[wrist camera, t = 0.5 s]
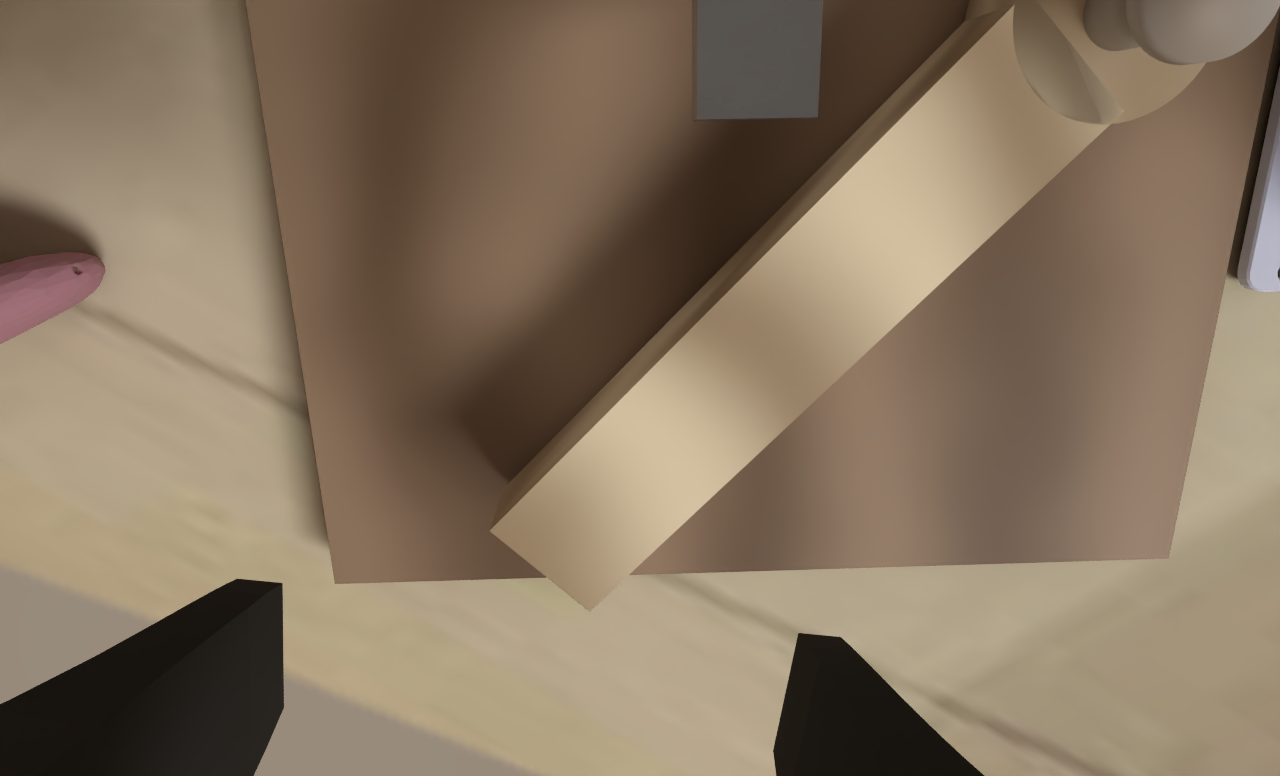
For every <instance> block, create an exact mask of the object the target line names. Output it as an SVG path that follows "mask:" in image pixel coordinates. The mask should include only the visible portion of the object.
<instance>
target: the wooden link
mask: <svg viewBox="0 0 1280 776" xmlns="http://www.w3.org/2000/svg"><path fill="white" fill-rule="evenodd" d="M1279 6H1280V0H970V1H969V5H968V9H967V12H966V17H965V21H964V22H963V23H962V25H961V26H960V27H959V28H958V29H957V30H956V31H955V32H954V33H953V34H952V35H951V36H950V37H949V38H948V39H947V40H946V41H945V42H944V43H943V44H942V45H941V46H940V47H939V48H938V49H937V50H936V51H935V52H934V53H933V54H932V55H931V56H930V57H929V58H928V59H927V60H926V61H925V62H924V63H923V64H922V65H921V66H920V67H919V68H918V69H917V70H916V71H915V72H914V73H913V74H912V75H911V76H910V77H909V78H908V79H907V80H906V81H905V82H904V83H903V84H902V85H901V86H900V87H899V88H898V89H897V90H896V91H895V92H894V93H893V94H892V95H891V96H890V97H889V98H888V100H887V101H886V102H885V103H884V104H883V105H882V106H881V107H880V108H879V109H878V110H877V111H876V112H875V113H874V114H873V115H872V116H871V117H870V118H869V119H868V120H867V121H866V122H865V123H864V124H863V125H862V126H861V127H860V128H859V129H858V130H857V131H856V132H855V133H854V134H853V135H852V136H851V137H850V138H849V139H848V140H847V141H846V142H845V143H844V144H843V145H842V146H841V147H840V148H839V149H838V150H837V151H836V152H835V153H834V154H833V155H832V156H831V157H830V158H829V159H828V160H827V161H826V162H825V163H824V164H823V165H822V166H821V167H820V168H819V169H818V170H817V171H816V172H815V173H814V174H813V176H812V177H811V178H810V179H809V180H808V181H807V182H806V183H805V184H804V185H803V186H802V187H801V188H800V189H799V190H798V191H797V192H796V193H795V194H794V195H793V196H792V197H791V198H790V199H789V200H788V201H787V202H786V203H785V204H784V205H783V206H782V207H781V208H780V209H779V210H778V211H777V212H776V213H775V214H774V215H773V216H772V217H771V218H770V219H769V220H768V221H767V222H766V223H765V224H764V225H763V226H762V227H761V228H760V229H759V230H758V231H757V232H756V233H755V234H754V235H753V236H752V237H751V238H750V239H749V240H748V241H747V242H746V243H745V244H744V245H743V246H742V247H741V248H740V249H739V251H738V252H737V253H736V254H735V255H734V256H733V257H732V258H731V259H730V260H729V261H728V262H727V263H726V264H725V265H724V266H723V267H722V268H721V269H720V270H719V271H718V272H717V273H716V274H715V275H714V276H713V277H712V278H711V279H710V280H709V281H708V282H707V283H706V284H705V285H704V286H703V287H702V288H701V289H700V290H699V291H698V292H697V293H696V294H695V295H694V296H693V297H692V298H691V299H690V300H689V301H688V302H687V303H686V304H685V305H684V306H683V307H682V308H681V309H680V310H679V311H678V312H677V313H676V314H675V315H674V316H673V317H672V318H671V319H670V320H669V321H668V322H667V323H666V324H665V326H664V327H663V328H662V329H661V330H660V331H659V332H658V333H657V334H656V335H655V336H654V337H653V338H652V339H651V340H650V341H649V342H648V343H647V344H646V345H645V346H644V347H643V348H642V349H641V350H640V351H639V352H638V353H637V354H636V355H635V356H634V357H633V358H632V359H631V360H630V361H629V362H628V363H627V364H626V365H625V366H624V367H623V368H622V369H621V370H620V371H619V372H618V373H617V374H616V375H615V376H614V377H613V378H612V379H611V380H610V381H609V382H608V383H607V384H606V385H605V386H604V387H603V388H602V389H601V390H600V391H599V392H598V393H597V394H596V395H595V396H594V397H593V398H592V399H591V400H590V402H589V403H588V404H587V405H586V406H585V407H584V408H583V409H582V410H581V411H580V412H579V413H578V414H577V415H576V416H575V417H574V418H573V419H572V420H571V421H570V422H569V423H568V424H567V425H566V426H565V427H564V428H563V429H562V430H561V431H560V432H559V433H558V434H557V435H556V436H555V437H554V438H553V439H552V440H551V441H550V442H549V443H548V444H547V445H546V446H545V447H544V448H543V449H542V450H541V451H540V452H539V453H538V454H537V455H536V456H535V457H534V458H533V459H532V460H531V461H530V462H529V463H528V464H527V465H526V466H525V467H524V468H523V469H522V470H521V471H520V472H519V473H518V474H517V475H516V477H515V478H514V479H513V480H512V481H511V482H510V483H509V484H508V485H507V486H506V487H505V488H504V489H503V491H502V494H501V497H500V500H499V504H498V507H497V510H496V513H495V516H494V519H493V522H492V525H491V528H490V532H491V533H493V534H494V535H495V536H496V537H498V538H499V539H500V540H501V541H503V542H504V543H505V544H506V545H507V546H509V547H510V548H511V549H512V550H514V551H515V552H516V553H517V554H519V555H520V556H521V557H522V558H524V559H525V560H526V561H527V562H529V563H530V564H531V565H532V566H534V567H535V568H536V569H537V570H539V571H540V572H541V573H542V574H543V575H545V576H546V577H547V578H548V579H550V580H551V581H552V582H553V583H555V584H556V585H557V586H558V587H560V588H561V589H562V590H563V591H565V592H566V593H567V594H568V595H570V596H571V597H572V598H573V599H575V600H576V601H577V602H578V603H579V604H581V605H582V606H583V607H584V608H586V609H587V610H588V611H589V612H590V611H591V610H592V609H593V608H594V607H595V606H596V605H597V604H598V603H599V602H601V601H602V600H603V599H604V598H605V597H606V596H607V595H608V594H609V593H610V592H611V591H612V590H613V589H614V588H615V587H617V586H618V585H619V584H620V583H621V582H622V581H623V580H624V579H625V578H626V577H627V576H628V575H629V574H630V573H632V572H633V571H634V570H635V569H636V568H637V567H638V566H639V565H640V564H641V563H642V562H643V561H644V560H645V559H646V558H648V557H649V556H650V555H651V554H652V553H653V552H654V551H655V550H656V549H657V548H658V547H659V546H660V545H661V544H663V543H664V542H665V541H666V540H667V539H668V538H669V537H670V536H671V535H672V534H673V533H674V532H675V531H676V530H677V529H679V528H680V527H681V526H682V525H683V524H684V523H685V522H686V521H687V520H688V519H689V518H690V517H691V516H692V515H694V514H695V513H696V512H697V511H698V510H699V509H700V508H701V507H702V506H703V505H704V504H705V503H706V502H707V501H708V500H710V499H711V498H712V497H713V496H714V495H715V494H716V493H717V492H718V491H719V490H720V489H721V488H722V487H723V486H725V485H726V484H727V483H728V482H729V481H730V480H731V479H732V478H733V477H734V476H735V475H736V474H737V473H738V472H739V471H741V470H742V469H743V468H744V467H745V466H746V465H747V464H748V463H749V462H750V461H751V460H752V459H753V458H754V457H756V456H757V455H758V454H759V453H760V452H761V451H762V450H763V449H764V448H765V447H766V446H767V445H768V444H769V443H770V442H772V441H773V440H774V439H775V438H776V437H777V436H778V435H779V434H780V433H781V432H782V431H783V430H784V429H785V428H787V427H788V426H789V425H790V424H791V423H792V422H793V421H794V420H795V419H796V418H797V417H798V416H799V415H800V414H801V413H803V412H804V411H805V410H806V409H807V408H808V407H809V406H810V405H811V404H812V403H813V402H814V401H815V400H816V399H818V398H819V397H820V396H821V395H822V394H823V393H824V392H825V391H826V390H827V389H828V388H829V387H830V386H831V385H832V384H834V383H835V382H836V381H837V380H838V379H839V378H840V377H841V376H842V375H843V374H844V373H845V372H846V371H847V370H849V369H850V368H851V367H852V366H853V365H854V364H855V363H856V362H857V361H858V360H859V359H860V358H861V357H862V356H863V355H865V354H866V353H867V352H868V351H869V350H870V349H871V348H872V347H873V346H874V345H875V344H876V343H877V342H878V341H880V340H881V339H882V338H883V337H884V336H885V335H886V334H887V333H888V332H889V331H890V330H891V329H892V328H893V327H894V326H896V325H897V324H898V323H899V322H900V321H901V320H902V319H903V318H904V317H905V316H906V315H907V314H908V313H909V312H910V311H912V310H913V309H914V308H915V307H916V306H917V305H918V304H919V303H920V302H921V301H922V300H923V299H924V298H925V297H927V296H928V295H929V294H930V293H931V292H932V291H933V290H934V289H935V288H936V287H937V286H938V285H939V284H940V283H941V282H943V281H944V280H945V279H946V278H947V277H948V276H949V275H950V274H951V273H952V272H953V271H954V270H955V269H956V268H958V267H959V266H960V265H961V264H962V263H963V262H964V261H965V260H966V259H967V258H968V257H969V256H970V255H971V254H972V253H974V252H975V251H976V250H977V249H978V248H979V247H980V246H981V245H982V244H983V243H984V242H985V241H986V240H987V239H989V238H990V237H991V236H992V235H993V234H994V233H995V232H996V231H997V230H998V229H999V228H1000V227H1001V226H1002V225H1003V224H1005V223H1006V222H1007V221H1008V220H1009V219H1010V218H1011V217H1012V216H1013V215H1014V214H1015V213H1016V212H1017V211H1018V210H1020V209H1021V208H1022V207H1023V206H1024V205H1025V204H1026V203H1027V202H1028V201H1029V200H1030V199H1031V198H1032V197H1033V196H1034V195H1036V194H1037V193H1038V192H1039V191H1040V190H1041V189H1042V188H1043V187H1044V186H1045V185H1046V184H1047V183H1048V182H1049V181H1051V180H1052V179H1053V178H1054V177H1055V176H1056V175H1057V174H1058V173H1059V172H1060V171H1061V170H1062V169H1063V168H1064V167H1065V166H1067V165H1068V164H1069V163H1070V162H1071V161H1072V160H1073V159H1074V158H1075V157H1076V156H1077V155H1078V154H1079V153H1080V152H1082V151H1083V150H1084V149H1085V148H1086V147H1087V146H1088V145H1089V144H1090V143H1091V142H1092V141H1093V140H1094V139H1095V138H1096V137H1098V136H1099V135H1100V134H1101V133H1102V132H1103V131H1104V130H1105V129H1106V128H1107V127H1108V126H1109V125H1110V124H1116V123H1121V122H1126V121H1130V120H1134V119H1136V118H1139V117H1142V116H1145V115H1147V114H1149V113H1151V112H1153V111H1155V110H1157V109H1159V108H1160V107H1162V106H1163V105H1165V104H1166V103H1168V102H1169V101H1171V100H1172V99H1173V98H1174V97H1176V96H1177V95H1178V94H1179V93H1180V92H1182V91H1183V90H1184V89H1185V88H1186V87H1187V86H1188V85H1189V84H1190V83H1191V81H1192V80H1193V79H1194V78H1195V77H1196V76H1197V74H1198V73H1199V72H1200V71H1201V69H1202V68H1203V67H1204V65H1205V64H1206V62H1212V61H1217V60H1221V59H1224V58H1227V57H1229V56H1232V55H1233V54H1235V53H1237V52H1239V51H1241V50H1242V49H1244V48H1245V47H1247V46H1248V45H1249V44H1251V43H1252V42H1253V41H1254V40H1256V38H1257V37H1258V36H1259V35H1260V34H1261V33H1262V32H1263V31H1264V30H1265V29H1266V27H1267V26H1268V25H1269V24H1270V22H1271V21H1272V19H1273V17H1274V16H1275V14H1276V12H1277V10H1278V8H1279Z"/></svg>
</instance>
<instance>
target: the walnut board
mask: <svg viewBox="0 0 1280 776" xmlns="http://www.w3.org/2000/svg"><path fill="white" fill-rule="evenodd" d="M245 1H246V8H247V14H248V21H249V27H250V34H251V40H252V47H253V53H254V60H255V66H256V73H257V79H258V86H259V92H260V99H261V105H262V112H263V118H264V125H265V131H266V138H267V144H268V151H269V157H270V164H271V170H272V177H273V183H274V190H275V196H276V203H277V209H278V216H279V222H280V229H281V235H282V242H283V248H284V255H285V261H286V268H287V274H288V281H289V288H290V294H291V301H292V307H293V314H294V320H295V327H296V333H297V340H298V346H299V353H300V359H301V366H302V372H303V379H304V385H305V392H306V398H307V405H308V411H309V418H310V424H311V431H312V437H313V444H314V450H315V457H316V463H317V470H318V476H319V483H320V489H321V496H322V502H323V509H324V515H325V522H326V528H327V535H328V541H329V548H330V554H331V561H332V567H333V574H334V580H335V584H348V583H381V582H414V581H446V580H479V579H512V578H545V577H546V576H545V575H543V574H542V573H541V572H540V571H539V570H537V569H536V568H535V567H534V566H532V565H531V564H530V563H529V562H527V561H526V560H525V559H524V558H522V557H521V556H520V555H519V554H517V553H516V552H515V551H514V550H512V549H511V548H510V547H509V546H507V545H506V544H505V543H504V542H503V541H501V540H500V539H499V538H498V537H496V536H495V535H494V534H493V533H491V532H490V528H491V525H492V522H493V519H494V516H495V513H496V510H497V507H498V504H499V500H500V497H501V494H502V491H503V489H504V488H505V487H506V486H507V485H508V484H509V483H510V482H511V481H512V480H513V479H514V478H515V477H516V475H517V474H518V473H519V472H520V471H521V470H522V469H523V468H524V467H525V466H526V465H527V464H528V463H529V462H530V461H531V460H532V459H533V458H534V457H535V456H536V455H537V454H538V453H539V452H540V451H541V450H542V449H543V448H544V447H545V446H546V445H547V444H548V443H549V442H550V441H551V440H552V439H553V438H554V437H555V436H556V435H557V434H558V433H559V432H560V431H561V430H562V429H563V428H564V427H565V426H566V425H567V424H568V423H569V422H570V421H571V420H572V419H573V418H574V417H575V416H576V415H577V414H578V413H579V412H580V411H581V410H582V409H583V408H584V407H585V406H586V405H587V404H588V403H589V402H590V400H591V399H592V398H593V397H594V396H595V395H596V394H597V393H598V392H599V391H600V390H601V389H602V388H603V387H604V386H605V385H606V384H607V383H608V382H609V381H610V380H611V379H612V378H613V377H614V376H615V375H616V374H617V373H618V372H619V371H620V370H621V369H622V368H623V367H624V366H625V365H626V364H627V363H628V362H629V361H630V360H631V359H632V358H633V357H634V356H635V355H636V354H637V353H638V352H639V351H640V350H641V349H642V348H643V347H644V346H645V345H646V344H647V343H648V342H649V341H650V340H651V339H652V338H653V337H654V336H655V335H656V334H657V333H658V332H659V331H660V330H661V329H662V328H663V327H664V326H665V324H666V323H667V322H668V321H669V320H670V319H671V318H672V317H673V316H674V315H675V314H676V313H677V312H678V311H679V310H680V309H681V308H682V307H683V306H684V305H685V304H686V303H687V302H688V301H689V300H690V299H691V298H692V297H693V296H694V295H695V294H696V293H697V292H698V291H699V290H700V289H701V288H702V287H703V286H704V285H705V284H706V283H707V282H708V281H709V280H710V279H711V278H712V277H713V276H714V275H715V274H716V273H717V272H718V271H719V270H720V269H721V268H722V267H723V266H724V265H725V264H726V263H727V262H728V261H729V260H730V259H731V258H732V257H733V256H734V255H735V254H736V253H737V252H738V251H739V249H740V248H741V247H742V246H743V245H744V244H745V243H746V242H747V241H748V240H749V239H750V238H751V237H752V236H753V235H754V234H755V233H756V232H757V231H758V230H759V229H760V228H761V227H762V226H763V225H764V224H765V223H766V222H767V221H768V220H769V219H770V218H771V217H772V216H773V215H774V214H775V213H776V212H777V211H778V210H779V209H780V208H781V207H782V206H783V205H784V204H785V203H786V202H787V201H788V200H789V199H790V198H791V197H792V196H793V195H794V194H795V193H796V192H797V191H798V190H799V189H800V188H801V187H802V186H803V185H804V184H805V183H806V182H807V181H808V180H809V179H810V178H811V177H812V176H813V174H814V173H815V172H816V171H817V170H818V169H819V168H820V167H821V166H822V165H823V164H824V163H825V162H826V161H827V160H828V159H829V158H830V157H831V156H832V155H833V154H834V153H835V152H836V151H837V150H838V149H839V148H840V147H841V146H842V145H843V144H844V143H845V142H846V141H847V140H848V139H849V138H850V137H851V136H852V135H853V134H854V133H855V132H856V131H857V130H858V129H859V128H860V127H861V126H862V125H863V124H864V123H865V122H866V121H867V120H868V119H869V118H870V117H871V116H872V115H873V114H874V113H875V112H876V111H877V110H878V109H879V108H880V107H881V106H882V105H883V104H884V103H885V102H886V101H887V100H888V98H889V97H890V96H891V95H892V94H893V93H894V92H895V91H896V90H897V89H898V88H899V87H900V86H901V85H902V84H903V83H904V82H905V81H906V80H907V79H908V78H909V77H910V76H911V75H912V74H913V73H914V72H915V71H916V70H917V69H918V68H919V67H920V66H921V65H922V64H923V63H924V62H925V61H926V60H927V59H928V58H929V57H930V56H931V55H932V54H933V53H934V52H935V51H936V50H937V49H938V48H939V47H940V46H941V45H942V44H943V43H944V42H945V41H946V40H947V39H948V38H949V37H950V36H951V35H952V34H953V33H954V32H955V31H956V30H957V29H958V28H959V27H960V26H961V25H962V23H963V22H964V21H965V17H966V12H967V9H968V5H969V1H970V0H823V15H822V37H821V60H820V82H819V104H818V117H815V118H805V119H760V120H710V121H692V0H245ZM1279 13H1280V6H1279V8H1278V10H1277V12H1276V14H1275V16H1274V17H1273V19H1272V21H1271V22H1270V24H1269V25H1268V26H1267V27H1266V29H1265V30H1264V31H1263V32H1262V33H1261V34H1260V35H1259V36H1258V37H1257V38H1256V40H1254V41H1253V42H1252V43H1251V44H1249V45H1248V46H1247V47H1245V48H1244V49H1242V50H1241V51H1239V52H1237V53H1235V54H1233V55H1232V56H1229V57H1227V58H1224V59H1221V60H1217V61H1212V62H1206V64H1205V65H1204V67H1203V68H1202V69H1201V71H1200V72H1199V73H1198V74H1197V76H1196V77H1195V78H1194V79H1193V80H1192V81H1191V83H1190V84H1189V85H1188V86H1187V87H1186V88H1185V89H1184V90H1183V91H1182V92H1180V93H1179V94H1178V95H1177V96H1176V97H1174V98H1173V99H1172V100H1171V101H1169V102H1168V103H1166V104H1165V105H1163V106H1162V107H1160V108H1159V109H1157V110H1155V111H1153V112H1151V113H1149V114H1147V115H1145V116H1142V117H1139V118H1136V119H1134V120H1130V121H1126V122H1121V123H1116V124H1110V125H1109V126H1108V127H1107V128H1106V129H1105V130H1104V131H1103V132H1102V133H1101V134H1100V135H1099V136H1098V137H1096V138H1095V139H1094V140H1093V141H1092V142H1091V143H1090V144H1089V145H1088V146H1087V147H1086V148H1085V149H1084V150H1083V151H1082V152H1080V153H1079V154H1078V155H1077V156H1076V157H1075V158H1074V159H1073V160H1072V161H1071V162H1070V163H1069V164H1068V165H1067V166H1065V167H1064V168H1063V169H1062V170H1061V171H1060V172H1059V173H1058V174H1057V175H1056V176H1055V177H1054V178H1053V179H1052V180H1051V181H1049V182H1048V183H1047V184H1046V185H1045V186H1044V187H1043V188H1042V189H1041V190H1040V191H1039V192H1038V193H1037V194H1036V195H1034V196H1033V197H1032V198H1031V199H1030V200H1029V201H1028V202H1027V203H1026V204H1025V205H1024V206H1023V207H1022V208H1021V209H1020V210H1018V211H1017V212H1016V213H1015V214H1014V215H1013V216H1012V217H1011V218H1010V219H1009V220H1008V221H1007V222H1006V223H1005V224H1003V225H1002V226H1001V227H1000V228H999V229H998V230H997V231H996V232H995V233H994V234H993V235H992V236H991V237H990V238H989V239H987V240H986V241H985V242H984V243H983V244H982V245H981V246H980V247H979V248H978V249H977V250H976V251H975V252H974V253H972V254H971V255H970V256H969V257H968V258H967V259H966V260H965V261H964V262H963V263H962V264H961V265H960V266H959V267H958V268H956V269H955V270H954V271H953V272H952V273H951V274H950V275H949V276H948V277H947V278H946V279H945V280H944V281H943V282H941V283H940V284H939V285H938V286H937V287H936V288H935V289H934V290H933V291H932V292H931V293H930V294H929V295H928V296H927V297H925V298H924V299H923V300H922V301H921V302H920V303H919V304H918V305H917V306H916V307H915V308H914V309H913V310H912V311H910V312H909V313H908V314H907V315H906V316H905V317H904V318H903V319H902V320H901V321H900V322H899V323H898V324H897V325H896V326H894V327H893V328H892V329H891V330H890V331H889V332H888V333H887V334H886V335H885V336H884V337H883V338H882V339H881V340H880V341H878V342H877V343H876V344H875V345H874V346H873V347H872V348H871V349H870V350H869V351H868V352H867V353H866V354H865V355H863V356H862V357H861V358H860V359H859V360H858V361H857V362H856V363H855V364H854V365H853V366H852V367H851V368H850V369H849V370H847V371H846V372H845V373H844V374H843V375H842V376H841V377H840V378H839V379H838V380H837V381H836V382H835V383H834V384H832V385H831V386H830V387H829V388H828V389H827V390H826V391H825V392H824V393H823V394H822V395H821V396H820V397H819V398H818V399H816V400H815V401H814V402H813V403H812V404H811V405H810V406H809V407H808V408H807V409H806V410H805V411H804V412H803V413H801V414H800V415H799V416H798V417H797V418H796V419H795V420H794V421H793V422H792V423H791V424H790V425H789V426H788V427H787V428H785V429H784V430H783V431H782V432H781V433H780V434H779V435H778V436H777V437H776V438H775V439H774V440H773V441H772V442H770V443H769V444H768V445H767V446H766V447H765V448H764V449H763V450H762V451H761V452H760V453H759V454H758V455H757V456H756V457H754V458H753V459H752V460H751V461H750V462H749V463H748V464H747V465H746V466H745V467H744V468H743V469H742V470H741V471H739V472H738V473H737V474H736V475H735V476H734V477H733V478H732V479H731V480H730V481H729V482H728V483H727V484H726V485H725V486H723V487H722V488H721V489H720V490H719V491H718V492H717V493H716V494H715V495H714V496H713V497H712V498H711V499H710V500H708V501H707V502H706V503H705V504H704V505H703V506H702V507H701V508H700V509H699V510H698V511H697V512H696V513H695V514H694V515H692V516H691V517H690V518H689V519H688V520H687V521H686V522H685V523H684V524H683V525H682V526H681V527H680V528H679V529H677V530H676V531H675V532H674V533H673V534H672V535H671V536H670V537H669V538H668V539H667V540H666V541H665V542H664V543H663V544H661V545H660V546H659V547H658V548H657V549H656V550H655V551H654V552H653V553H652V554H651V555H650V556H649V557H648V558H646V559H645V560H644V561H643V562H642V563H641V564H640V565H639V566H638V567H637V568H636V569H635V570H634V571H633V572H632V573H630V574H629V575H643V574H676V573H709V572H742V571H774V570H807V569H840V568H873V567H906V566H938V565H971V564H1004V563H1037V562H1070V561H1102V560H1135V559H1168V558H1169V554H1170V549H1171V544H1172V539H1173V534H1174V529H1175V525H1176V520H1177V515H1178V510H1179V505H1180V500H1181V495H1182V490H1183V485H1184V480H1185V475H1186V470H1187V465H1188V461H1189V456H1190V451H1191V446H1192V441H1193V436H1194V431H1195V426H1196V421H1197V416H1198V411H1199V406H1200V402H1201V397H1202V392H1203V387H1204V382H1205V377H1206V372H1207V367H1208V362H1209V357H1210V352H1211V347H1212V343H1213V338H1214V333H1215V328H1216V323H1217V318H1218V313H1219V308H1220V303H1221V298H1222V293H1223V288H1224V283H1225V279H1226V274H1227V269H1228V264H1229V259H1230V254H1231V249H1232V244H1233V239H1234V234H1235V229H1236V224H1237V220H1238V215H1239V210H1240V205H1241V200H1242V195H1243V190H1244V185H1245V180H1246V175H1247V170H1248V165H1249V161H1250V156H1251V151H1252V146H1253V141H1254V136H1255V131H1256V126H1257V121H1258V116H1259V111H1260V106H1261V101H1262V97H1263V92H1264V87H1265V82H1266V77H1267V72H1268V67H1269V62H1270V57H1271V52H1272V47H1273V42H1274V38H1275V33H1276V28H1277V23H1278V18H1279Z"/></svg>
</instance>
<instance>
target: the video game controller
mask: <svg viewBox="0 0 1280 776" xmlns="http://www.w3.org/2000/svg"><path fill="white" fill-rule="evenodd" d="M104 273H105V266H104V264H103V263H102V261H101V259H100V258H98V257H96V256H93V255H90V254H86V253H80V252H62V253H53V254H44V255H36V256H28V257H25V258H21V259H17V260H14V261H10V262H7V263H3V264H0V344H1V343H3V342H5V341H7V340H9V339H11V338H13V337H15V336H17V335H19V334H21V333H23V332H25V331H27V330H29V329H31V328H33V327H35V326H36V325H38V324H40V323H42V322H44V321H46V320H48V319H50V318H52V317H54V316H56V315H58V314H60V313H62V312H64V311H66V310H67V309H69V308H71V307H72V306H74V305H76V304H78V303H79V302H81V301H82V300H84V299H85V298H86V297H88V296H89V295H90V294H91V293H93V292H94V291H95V290H96V288H97V287H98V286H99V285H100V283H101V281H102V279H103V276H104Z"/></svg>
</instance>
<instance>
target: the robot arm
mask: <svg viewBox="0 0 1280 776" xmlns="http://www.w3.org/2000/svg"><path fill="white" fill-rule="evenodd" d="M1279 268H1280V68H1279V72H1278V77H1277V82H1276V87H1275V92H1274V97H1273V101H1272V106H1271V111H1270V116H1269V121H1268V126H1267V130H1266V135H1265V140H1264V145H1263V150H1262V154H1261V159H1260V164H1259V169H1258V174H1257V179H1256V183H1255V188H1254V193H1253V198H1252V203H1251V208H1250V212H1249V217H1248V222H1247V227H1246V232H1245V237H1244V241H1243V246H1242V251H1241V256H1240V261H1239V265H1238V274H1237V278H1238V280H1239V282H1240V284H1241V285H1242V286H1244V287H1245V288H1247V289H1251V290H1256V291H1261V292H1272V291H1280V277H1279V278H1278V270H1279ZM283 688H284V684H283V595H282V583H275V582H264V581H254V580H244V579H236V580H234V581H232V582H230V583H228V584H225V585H223V586H222V587H220V588H218V589H216V590H214V591H212V592H210V593H208V594H207V595H205V596H203V597H201V598H199V599H197V600H196V601H194V602H192V603H190V604H188V605H187V606H185V607H183V608H181V609H180V610H178V611H176V612H174V613H173V614H171V615H169V616H167V617H165V618H164V619H162V620H160V621H158V622H157V623H155V624H153V625H151V626H149V627H148V628H146V629H144V630H142V631H140V632H139V633H137V634H135V635H133V636H131V637H129V638H128V639H126V640H124V641H122V642H120V643H119V644H117V645H115V646H113V647H111V648H110V649H108V650H106V651H104V652H103V653H101V654H99V655H97V656H95V657H93V658H91V659H89V660H87V661H85V662H83V663H82V664H79V665H77V666H75V667H73V668H71V669H70V670H68V671H66V672H64V673H62V674H60V675H58V676H56V677H54V678H52V679H50V680H48V681H46V682H44V683H42V684H40V685H38V686H36V687H34V688H33V689H30V690H28V691H26V692H25V693H23V694H20V695H18V696H16V697H14V698H12V699H11V700H9V701H6V702H4V703H2V704H0V776H254V773H255V771H256V769H257V767H258V765H259V763H260V760H261V758H262V756H263V754H264V752H265V750H266V747H267V745H268V743H269V741H270V738H271V736H272V734H273V731H274V729H275V727H276V724H277V722H278V720H279V717H280V715H281V713H282V710H283V708H284V689H283ZM773 752H774V760H775V768H776V775H777V776H984V775H983V774H982V773H981V772H979V771H978V770H977V769H976V768H975V767H974V766H973V765H972V764H970V763H969V762H968V761H967V760H966V759H965V758H964V757H963V756H962V755H960V754H959V753H958V752H957V751H956V750H955V749H954V748H953V747H952V746H951V745H950V744H949V743H948V742H946V741H945V740H944V739H943V738H942V737H941V736H940V735H939V734H938V733H937V732H936V731H935V730H934V729H933V728H932V727H931V726H930V725H929V724H928V723H927V722H926V721H925V720H924V719H923V718H922V717H921V716H920V715H918V714H917V713H916V712H915V711H914V710H913V709H912V708H911V707H910V706H909V705H908V704H907V703H906V702H905V701H904V700H903V699H902V698H901V697H900V696H899V695H898V694H897V693H896V692H895V690H894V689H893V688H892V687H891V686H890V685H889V684H888V683H887V682H886V681H885V680H884V679H883V678H882V677H881V676H880V675H879V674H878V673H877V672H876V671H875V670H874V669H873V668H872V667H871V666H870V665H869V664H868V663H867V662H866V661H865V660H864V659H863V658H862V657H861V656H860V655H859V654H858V653H857V652H856V651H855V650H854V649H853V648H852V647H851V646H850V645H849V644H848V643H846V642H845V641H844V640H843V639H842V638H841V637H833V636H823V635H813V634H802V633H798V638H797V643H796V647H795V652H794V657H793V661H792V666H791V671H790V675H789V680H788V685H787V689H786V694H785V699H784V703H783V708H782V713H781V717H780V722H779V726H778V731H777V736H776V740H775V745H774V750H773Z"/></svg>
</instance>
